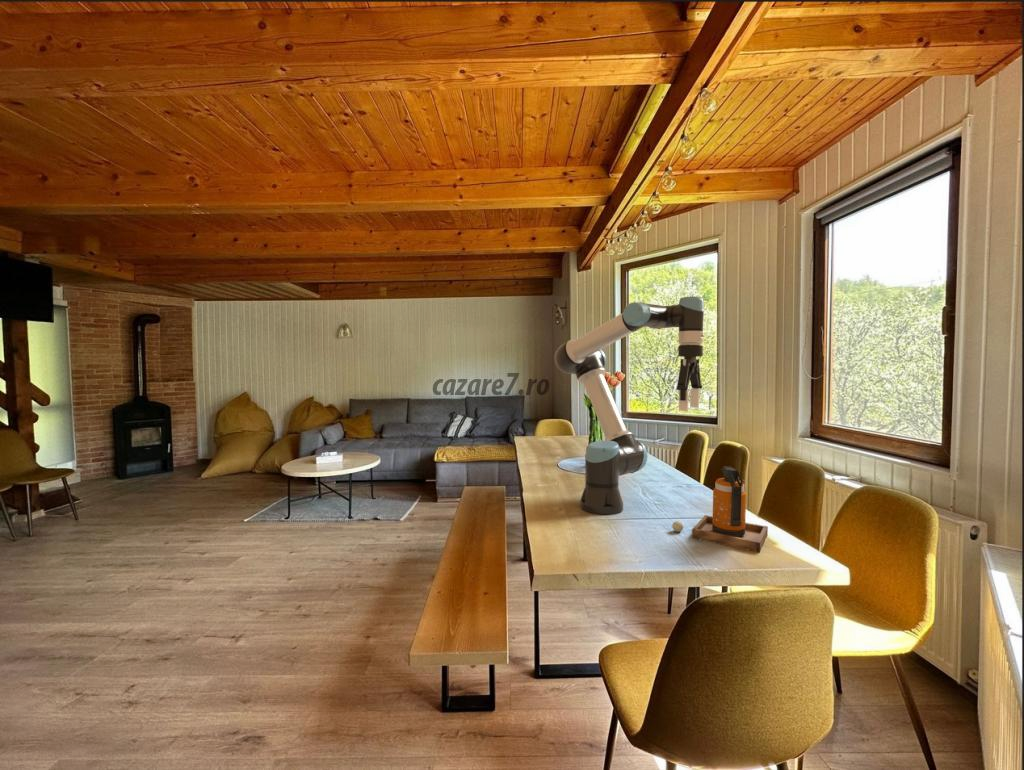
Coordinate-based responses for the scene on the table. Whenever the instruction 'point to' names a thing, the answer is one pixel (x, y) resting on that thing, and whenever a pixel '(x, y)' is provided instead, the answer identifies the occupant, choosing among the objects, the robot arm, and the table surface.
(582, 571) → the table surface
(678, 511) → the table surface
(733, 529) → the canister
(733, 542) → the tray
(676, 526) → the ball
